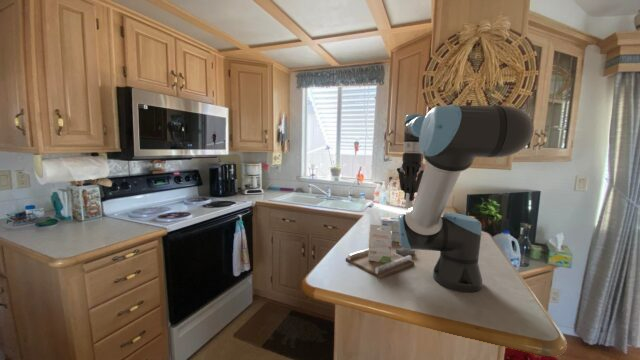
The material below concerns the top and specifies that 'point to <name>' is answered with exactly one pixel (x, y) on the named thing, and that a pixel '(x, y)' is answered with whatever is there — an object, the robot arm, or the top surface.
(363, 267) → the rail board
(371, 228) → the ink box
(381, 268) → the steel rails
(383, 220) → the light bulb box
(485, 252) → the top surface
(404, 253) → the latch housing
